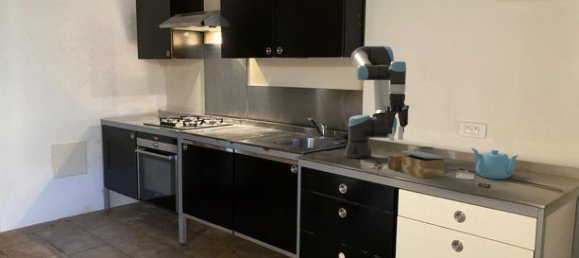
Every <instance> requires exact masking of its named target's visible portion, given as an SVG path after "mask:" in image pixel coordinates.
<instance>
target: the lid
mask: <svg viewBox="0 0 579 258" xmlns="http://www.w3.org/2000/svg"><path fill="white" fill-rule="evenodd" d="M400 153H402V154H405V155H414V156H418V157H423V158H434V159H446V156H441V155H439V154H438V155H437V154H435V155H433V154H429V153H425V152H419V151H418V150H416V151H415V150H413V151H412V150H401V151H400Z"/></svg>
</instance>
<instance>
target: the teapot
mask: <svg viewBox="0 0 579 258" xmlns="http://www.w3.org/2000/svg"><path fill="white" fill-rule="evenodd" d="M470 149H471V150H472V151H473V155H474V156H473V157H474V158H473V159H474V160H473V161H474V162H473V163H474V164H475V172H476V174H477V175H478V176H479V177H481V178H485V179H491V180H505V179H506V180H507V179H508V178H510V177H511V176H512V175H513V172H514V171H515V167H516V159H517V158H518V157H519V156H520V155H519V154H518V155H513V156H511V158H510V160H509V155H508V154H507V153H500V152H499V150H497V149H491V150H490V152H485V153H483V154H481V153H479V151H478V150H477V149H476V148H474V147H471V148H470Z"/></svg>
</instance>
